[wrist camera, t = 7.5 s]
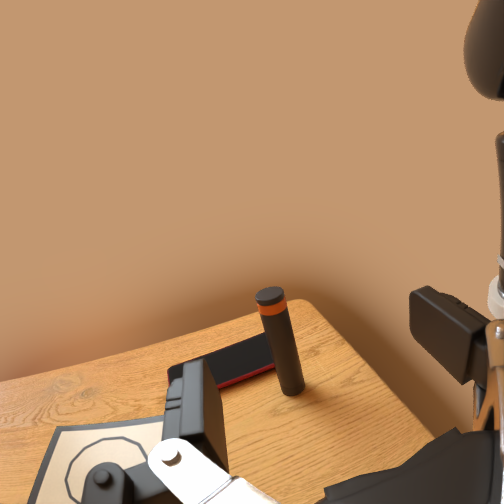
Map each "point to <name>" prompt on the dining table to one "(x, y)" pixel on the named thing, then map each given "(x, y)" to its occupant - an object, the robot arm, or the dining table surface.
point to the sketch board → (91, 455)
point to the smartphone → (233, 361)
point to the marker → (281, 339)
